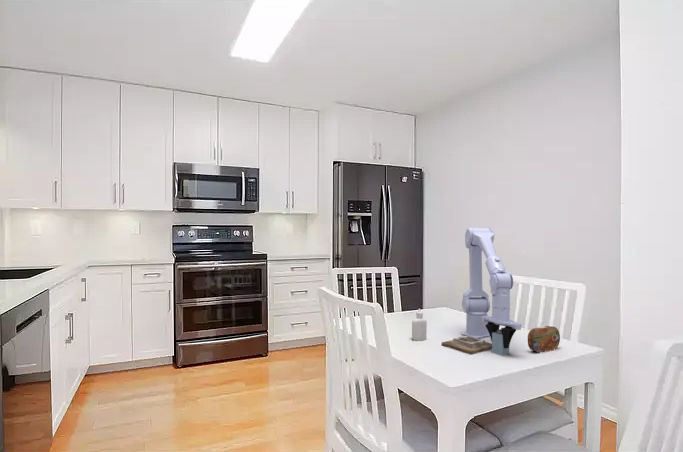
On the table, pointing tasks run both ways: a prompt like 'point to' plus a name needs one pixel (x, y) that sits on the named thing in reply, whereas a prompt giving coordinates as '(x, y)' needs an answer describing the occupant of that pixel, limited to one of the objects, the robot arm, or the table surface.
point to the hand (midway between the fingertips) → (500, 346)
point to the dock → (468, 344)
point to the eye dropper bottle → (419, 327)
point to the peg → (498, 343)
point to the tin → (543, 339)
